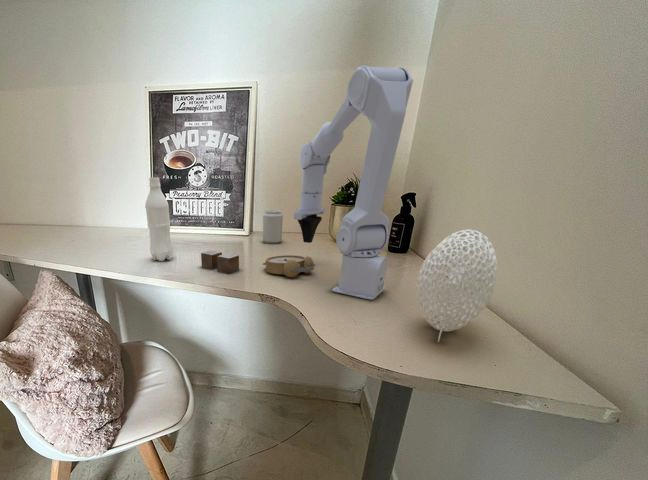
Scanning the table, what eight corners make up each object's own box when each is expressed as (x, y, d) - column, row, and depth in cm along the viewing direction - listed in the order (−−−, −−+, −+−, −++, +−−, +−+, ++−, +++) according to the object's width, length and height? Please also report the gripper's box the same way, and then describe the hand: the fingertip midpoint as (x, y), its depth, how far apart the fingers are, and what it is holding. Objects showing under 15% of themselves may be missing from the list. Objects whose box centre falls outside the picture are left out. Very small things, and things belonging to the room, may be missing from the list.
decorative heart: (419, 308, 69) (438, 223, 62) (482, 321, 63) (511, 228, 56) (395, 341, 56) (417, 239, 49) (471, 361, 50) (508, 248, 43)
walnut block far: (222, 266, 101) (221, 252, 99) (212, 269, 98) (211, 255, 96) (211, 264, 103) (211, 250, 101) (201, 267, 100) (200, 252, 98)
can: (259, 240, 134) (260, 209, 129) (276, 239, 136) (277, 208, 131) (267, 244, 128) (268, 212, 123) (284, 243, 130) (286, 210, 125)
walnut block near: (239, 270, 97) (239, 255, 95) (229, 273, 94) (229, 258, 92) (227, 267, 99) (227, 253, 98) (217, 271, 96) (217, 256, 94)
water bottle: (175, 260, 108) (168, 177, 98) (153, 263, 106) (143, 178, 96) (170, 255, 114) (163, 176, 104) (149, 258, 112) (140, 177, 102)
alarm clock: (285, 253, 101) (324, 254, 89) (286, 270, 103) (325, 272, 90) (256, 259, 96) (294, 261, 83) (258, 276, 97) (295, 280, 85)
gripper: (310, 190, 99) (307, 236, 105) (285, 194, 89) (282, 244, 95) (333, 191, 95) (328, 239, 101) (309, 195, 85) (305, 247, 91)
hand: (307, 242), depth 98 cm, fingers closed
